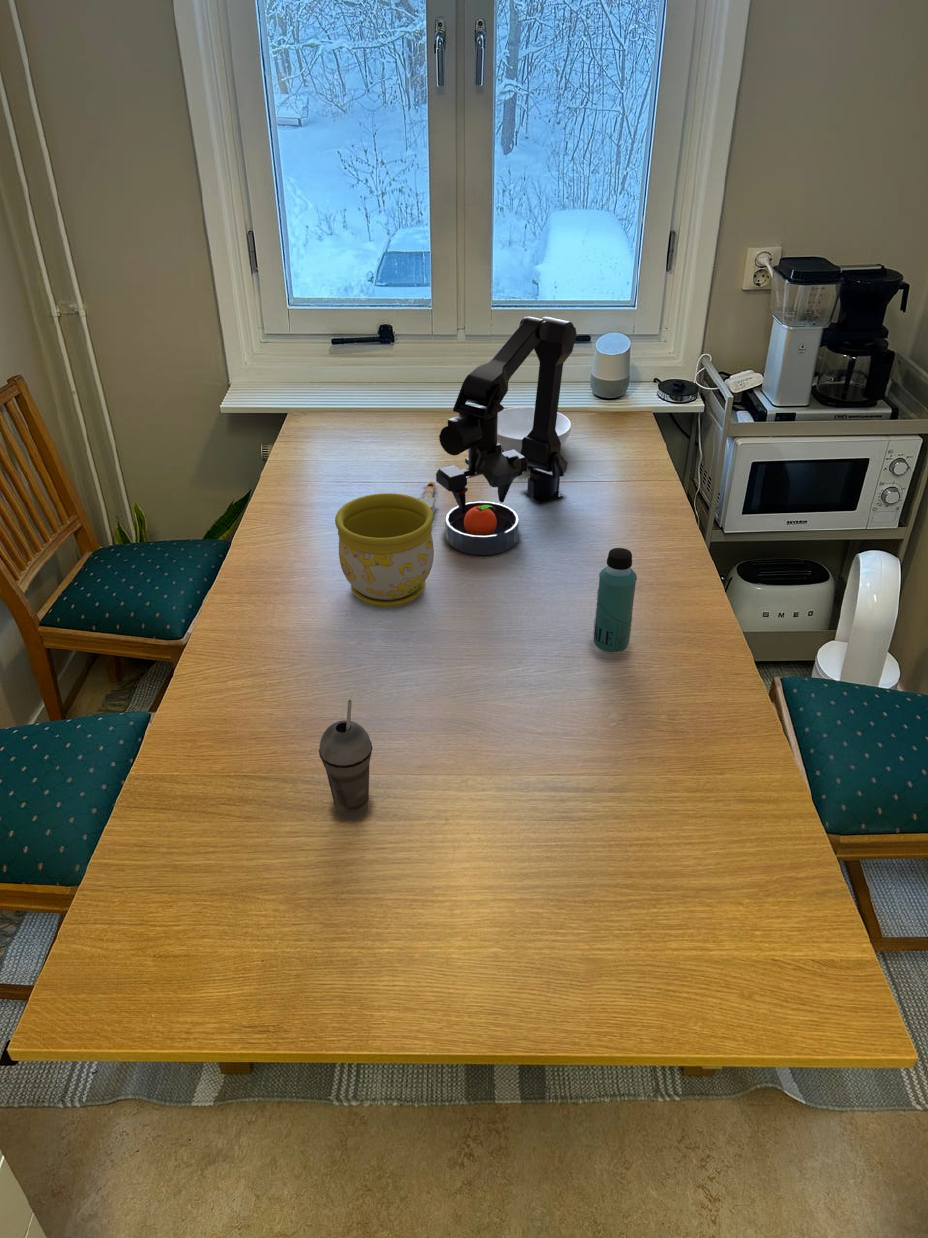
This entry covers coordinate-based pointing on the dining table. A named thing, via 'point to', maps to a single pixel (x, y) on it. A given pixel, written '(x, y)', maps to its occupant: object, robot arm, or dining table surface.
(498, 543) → the fruit bowl
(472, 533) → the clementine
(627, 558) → the beverage bottle
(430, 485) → the paintbrush
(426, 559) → the flowerpot
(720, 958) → the dining table surface
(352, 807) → the beverage cup
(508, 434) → the serving bowl
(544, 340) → the robot arm
